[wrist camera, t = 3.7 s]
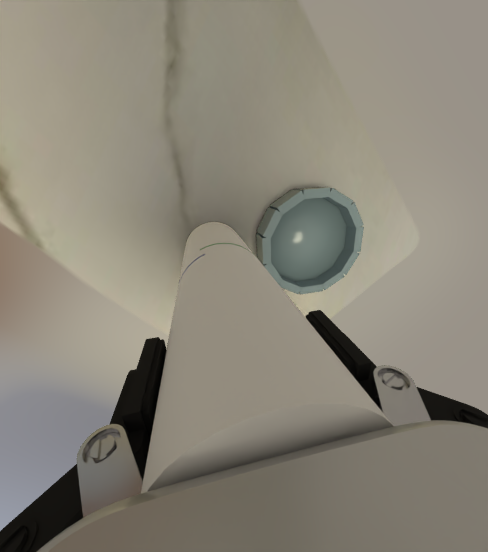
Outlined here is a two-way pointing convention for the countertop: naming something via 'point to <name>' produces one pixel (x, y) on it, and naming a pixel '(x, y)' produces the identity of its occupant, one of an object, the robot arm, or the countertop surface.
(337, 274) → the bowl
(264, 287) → the cylindrical container
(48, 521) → the robot arm
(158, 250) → the countertop surface
